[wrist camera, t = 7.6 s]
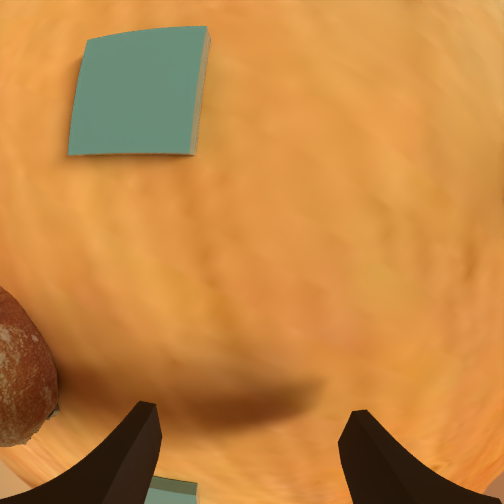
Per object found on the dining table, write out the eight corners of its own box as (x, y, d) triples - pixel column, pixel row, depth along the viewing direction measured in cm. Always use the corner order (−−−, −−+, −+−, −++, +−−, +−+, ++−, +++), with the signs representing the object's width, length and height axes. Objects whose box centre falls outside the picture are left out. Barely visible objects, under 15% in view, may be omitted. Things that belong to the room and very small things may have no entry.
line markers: (403, 486, 15) (406, 494, 14) (146, 494, 14) (144, 504, 13) (541, 150, 8) (554, 151, 7) (100, 49, 7) (87, 40, 6)
